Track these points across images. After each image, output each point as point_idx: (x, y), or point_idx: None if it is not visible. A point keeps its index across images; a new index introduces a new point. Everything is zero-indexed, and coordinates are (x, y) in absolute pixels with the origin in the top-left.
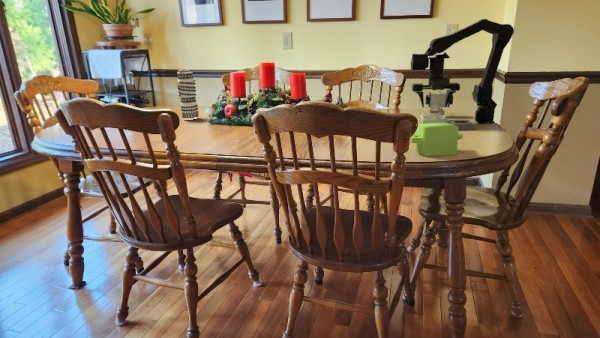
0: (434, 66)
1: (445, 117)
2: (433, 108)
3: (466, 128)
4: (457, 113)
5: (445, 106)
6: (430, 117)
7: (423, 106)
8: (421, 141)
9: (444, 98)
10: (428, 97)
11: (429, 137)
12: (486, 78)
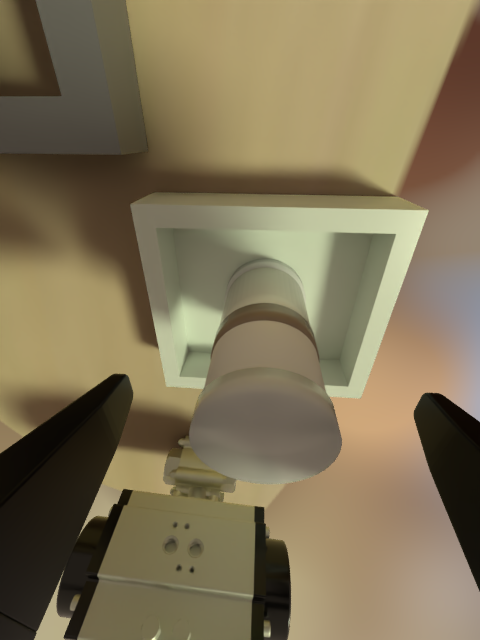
0: None
1: (159, 292)
2: (293, 347)
3: None
4: (109, 483)
5: (118, 379)
6: (304, 303)
7: (442, 403)
8: None
9: (133, 577)
10: (269, 611)
11: None
12: None
